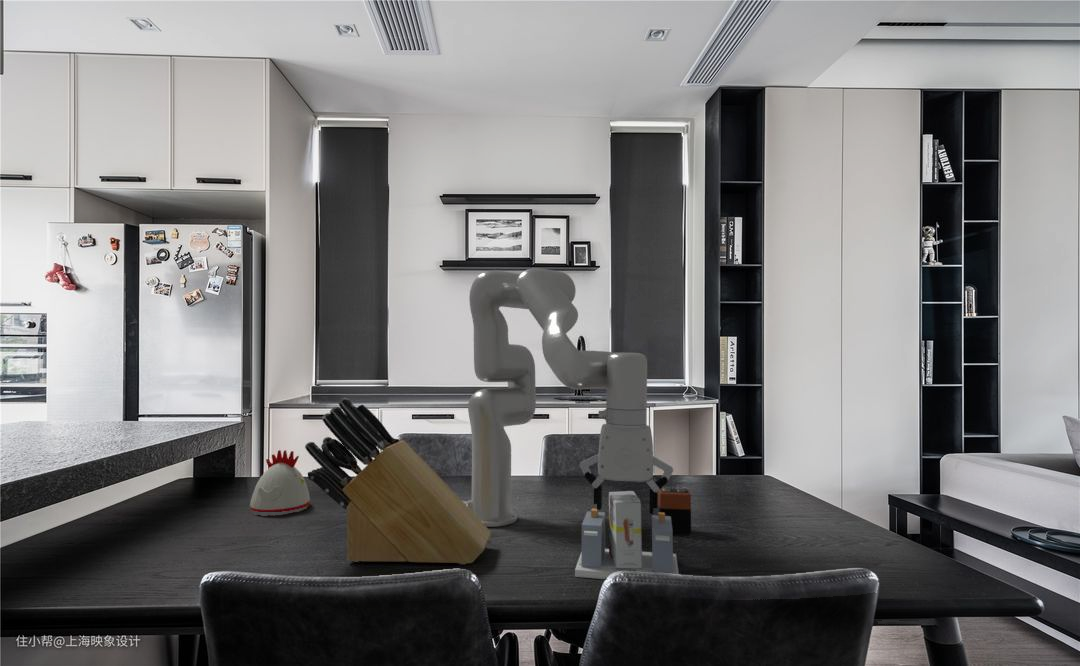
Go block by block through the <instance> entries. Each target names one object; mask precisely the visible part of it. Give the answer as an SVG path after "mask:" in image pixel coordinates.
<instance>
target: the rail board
mask: <svg viewBox="0 0 1080 666" xmlns="http://www.w3.org/2000/svg"><path fill="white" fill-rule="evenodd" d="M673 535H674V534H673V530H672V523H671V516H665V513H664V512H657V515H655V514H651V542H652V543H651V548H652V549H651V551H642V568H616V567H615V565H614V562H613V560H612V558H611V556H610V554H609V548H606V512H604V511H599V510H597V508H593V507H592V508H591V510H589V511H586V514H585V516H584V518H583V521H582V523H581V552H580V555H579V558H578V560H577V563H576V566H575V569H574V577H576V578H586V579H595V580H596V579H599V580H606V579H605V578H606V577H607V576H608V575H610V574H611V573H613V572H615V571H620V570H636V571H656V572H667V573H677V574H679V566H678V559H677V553H674V547H673V544H674V543H673V541H674V537H673ZM679 575H680V574H679Z"/></svg>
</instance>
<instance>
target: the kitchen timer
mask: <svg viewBox="0 0 1080 666" xmlns="http://www.w3.org/2000/svg"><path fill="white" fill-rule="evenodd" d="M294 456H295V455H294V451H293V450H291V451H290V453H289V455H288V453H287V450H286V449H285V450H283V453H282V451H281V449H279V450H277V455H276V454H274V453H273V454H272V455H271V459H272V460H270V459H269V458H267V459H265V460H266V464H267V466H268V468H267V470H266V471H264V473H263V474H262V475H261V476H260V478H259V479H258V481H257V483H256V485H255V488H254V490H253V493H252V494H251V499H250V503H249V510H250V509H251V510H253V511H258V512H282V511H290V510H295V509H299V508H303V507H306V506H308V505H309V504H310V505H311V503H310V502H311V498H310V497H311V496H310V492H309V489H308V485H307V482H306V480H305V478H304V476H303V474H302V473H301V472H300V471H299V470H298V469H297V467H296V463H297V462H298V461H299V460H298V459H299V457H300V456H299V455H297V456H296V457H295V458H294ZM271 461H272V462H271Z"/></svg>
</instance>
